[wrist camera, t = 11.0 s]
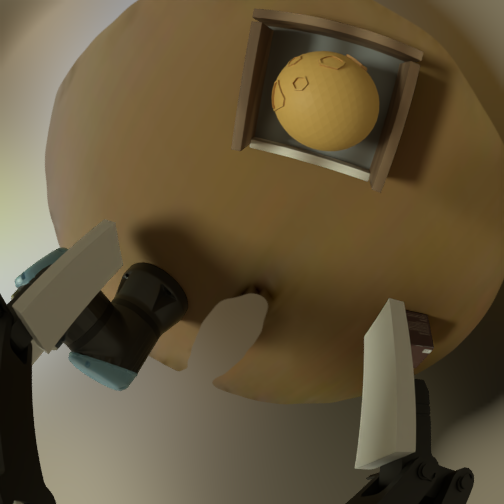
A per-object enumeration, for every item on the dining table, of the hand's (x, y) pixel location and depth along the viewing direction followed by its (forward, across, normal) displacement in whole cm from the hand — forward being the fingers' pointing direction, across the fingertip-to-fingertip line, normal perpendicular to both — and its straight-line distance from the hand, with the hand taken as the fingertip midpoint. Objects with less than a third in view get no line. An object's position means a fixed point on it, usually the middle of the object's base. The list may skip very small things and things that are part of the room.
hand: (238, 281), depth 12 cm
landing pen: (+24, +2, +7) cm, 25 cm away
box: (+24, +25, -22) cm, 41 cm away
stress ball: (+23, +2, +7) cm, 24 cm away
